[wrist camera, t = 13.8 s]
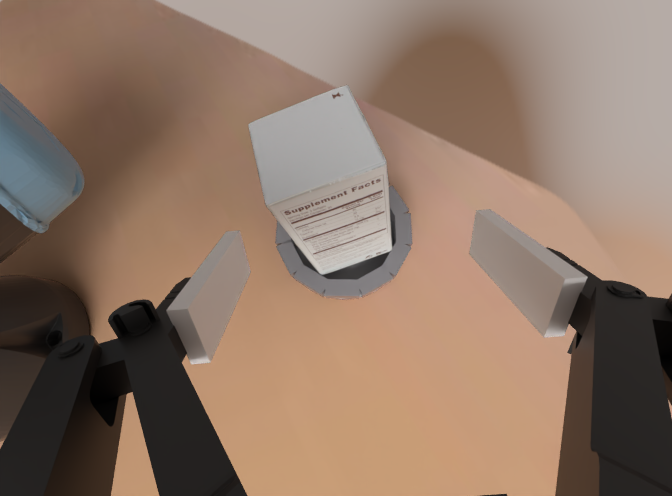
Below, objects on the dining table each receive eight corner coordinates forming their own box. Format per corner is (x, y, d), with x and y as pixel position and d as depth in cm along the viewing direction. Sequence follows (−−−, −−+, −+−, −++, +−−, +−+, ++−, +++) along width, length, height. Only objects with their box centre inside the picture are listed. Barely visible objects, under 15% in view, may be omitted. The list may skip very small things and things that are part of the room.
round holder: (259, 258, 30) (250, 251, 27) (324, 165, 33) (321, 149, 30) (367, 324, 28) (369, 323, 25) (426, 217, 30) (434, 205, 28)
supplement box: (302, 216, 30) (244, 119, 19) (369, 192, 30) (350, 78, 18) (319, 278, 27) (261, 206, 16) (394, 253, 26) (390, 159, 15)
